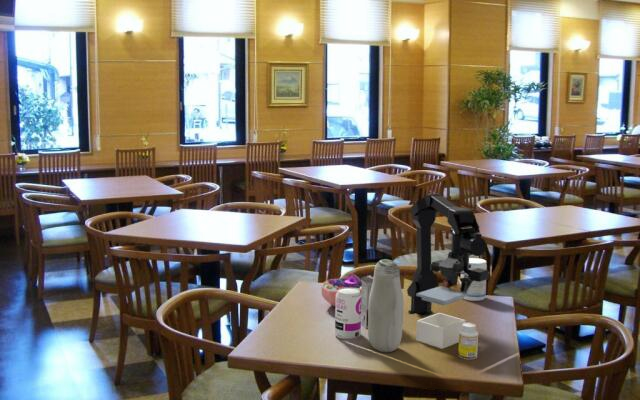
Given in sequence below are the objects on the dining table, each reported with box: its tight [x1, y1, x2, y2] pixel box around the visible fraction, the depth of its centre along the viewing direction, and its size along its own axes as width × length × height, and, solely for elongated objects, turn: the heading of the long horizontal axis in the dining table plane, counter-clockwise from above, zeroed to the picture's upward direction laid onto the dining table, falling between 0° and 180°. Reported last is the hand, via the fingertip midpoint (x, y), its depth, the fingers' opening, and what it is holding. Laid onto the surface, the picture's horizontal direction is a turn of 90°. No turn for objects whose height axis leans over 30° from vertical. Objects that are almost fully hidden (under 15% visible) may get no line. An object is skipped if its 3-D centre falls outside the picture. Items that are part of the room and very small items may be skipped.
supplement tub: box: [460, 257, 488, 302], centre depth 274 cm, size 10×10×15 cm
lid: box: [416, 283, 468, 307], centre depth 226 cm, size 11×17×3 cm, turn 135°
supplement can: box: [334, 288, 362, 340], centre depth 229 cm, size 8×8×15 cm
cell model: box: [321, 273, 362, 308], centre depth 261 cm, size 17×20×11 cm
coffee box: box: [361, 276, 374, 330], centre depth 240 cm, size 9×6×16 cm
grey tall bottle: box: [367, 258, 405, 353], centre depth 216 cm, size 10×10×28 cm
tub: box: [415, 312, 467, 350], centre depth 226 cm, size 10×12×7 cm
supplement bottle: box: [457, 322, 479, 360], centre depth 213 cm, size 6×6×10 cm
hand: (458, 296), depth 231 cm, fingers closed on lid, 3 cm apart
